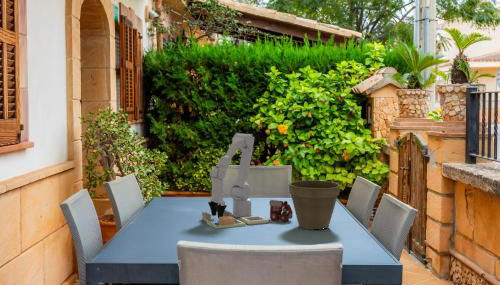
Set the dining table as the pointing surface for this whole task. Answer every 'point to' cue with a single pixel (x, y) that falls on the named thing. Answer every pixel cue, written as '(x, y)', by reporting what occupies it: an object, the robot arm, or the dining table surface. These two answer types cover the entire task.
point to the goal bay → (227, 225)
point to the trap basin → (254, 220)
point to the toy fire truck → (280, 210)
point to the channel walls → (207, 216)
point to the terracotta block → (226, 220)
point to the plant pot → (314, 202)
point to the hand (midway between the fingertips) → (217, 217)
